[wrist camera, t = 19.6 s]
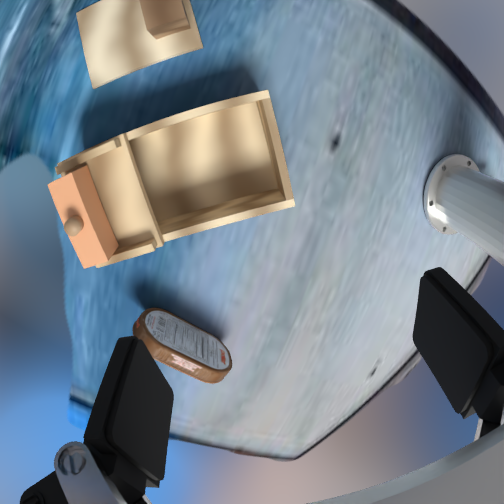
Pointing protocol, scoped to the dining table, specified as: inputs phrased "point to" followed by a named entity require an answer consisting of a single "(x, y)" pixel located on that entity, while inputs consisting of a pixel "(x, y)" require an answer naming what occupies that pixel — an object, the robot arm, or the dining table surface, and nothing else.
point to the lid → (134, 35)
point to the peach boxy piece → (84, 217)
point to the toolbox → (188, 173)
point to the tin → (183, 345)
